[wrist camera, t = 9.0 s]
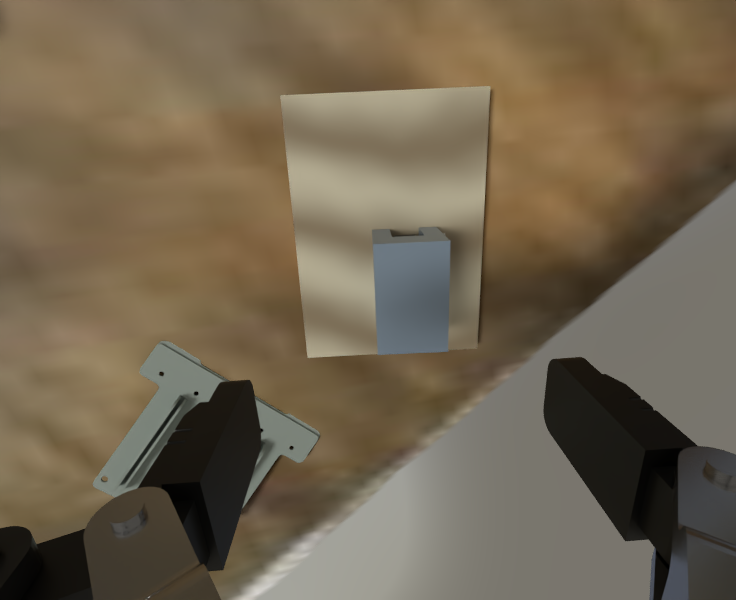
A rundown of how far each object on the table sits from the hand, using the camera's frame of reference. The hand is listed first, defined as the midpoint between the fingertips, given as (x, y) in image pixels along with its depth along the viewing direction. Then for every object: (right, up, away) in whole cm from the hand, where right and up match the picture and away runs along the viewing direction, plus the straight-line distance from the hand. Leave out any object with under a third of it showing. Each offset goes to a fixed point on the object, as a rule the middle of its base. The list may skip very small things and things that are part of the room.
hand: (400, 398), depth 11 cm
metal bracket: (-15, -9, +24) cm, 30 cm away
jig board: (+1, +7, +18) cm, 20 cm away
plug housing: (+2, +4, +18) cm, 18 cm away
